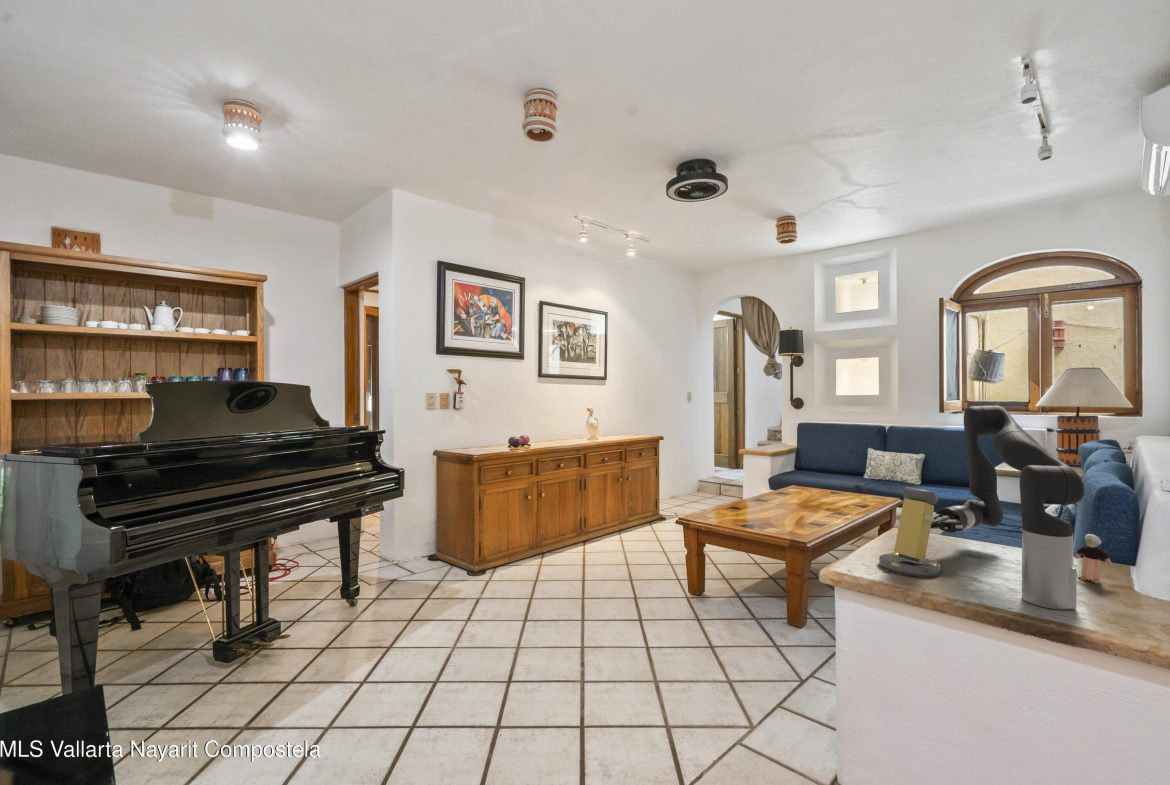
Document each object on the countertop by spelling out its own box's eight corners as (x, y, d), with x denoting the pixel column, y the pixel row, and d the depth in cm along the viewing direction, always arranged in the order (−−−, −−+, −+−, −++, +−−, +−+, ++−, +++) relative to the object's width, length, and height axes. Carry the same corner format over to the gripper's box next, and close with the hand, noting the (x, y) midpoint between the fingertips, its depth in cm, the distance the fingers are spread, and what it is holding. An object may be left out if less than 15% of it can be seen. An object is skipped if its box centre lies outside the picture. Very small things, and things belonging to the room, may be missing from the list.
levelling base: (898, 557, 163) (898, 549, 163) (951, 571, 150) (951, 563, 150) (868, 565, 156) (868, 557, 156) (921, 581, 143) (921, 572, 143)
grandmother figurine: (1071, 578, 145) (1071, 532, 144) (1075, 575, 147) (1075, 530, 147) (1110, 587, 138) (1111, 538, 138) (1113, 583, 141) (1114, 536, 141)
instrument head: (899, 557, 157) (912, 488, 160) (927, 564, 150) (940, 493, 153) (889, 554, 155) (902, 485, 158) (918, 562, 148) (931, 489, 151)
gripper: (932, 502, 170) (900, 508, 162) (979, 510, 159) (947, 517, 150) (932, 525, 170) (900, 532, 162) (979, 535, 159) (947, 544, 150)
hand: (923, 525), depth 156 cm, fingers closed
